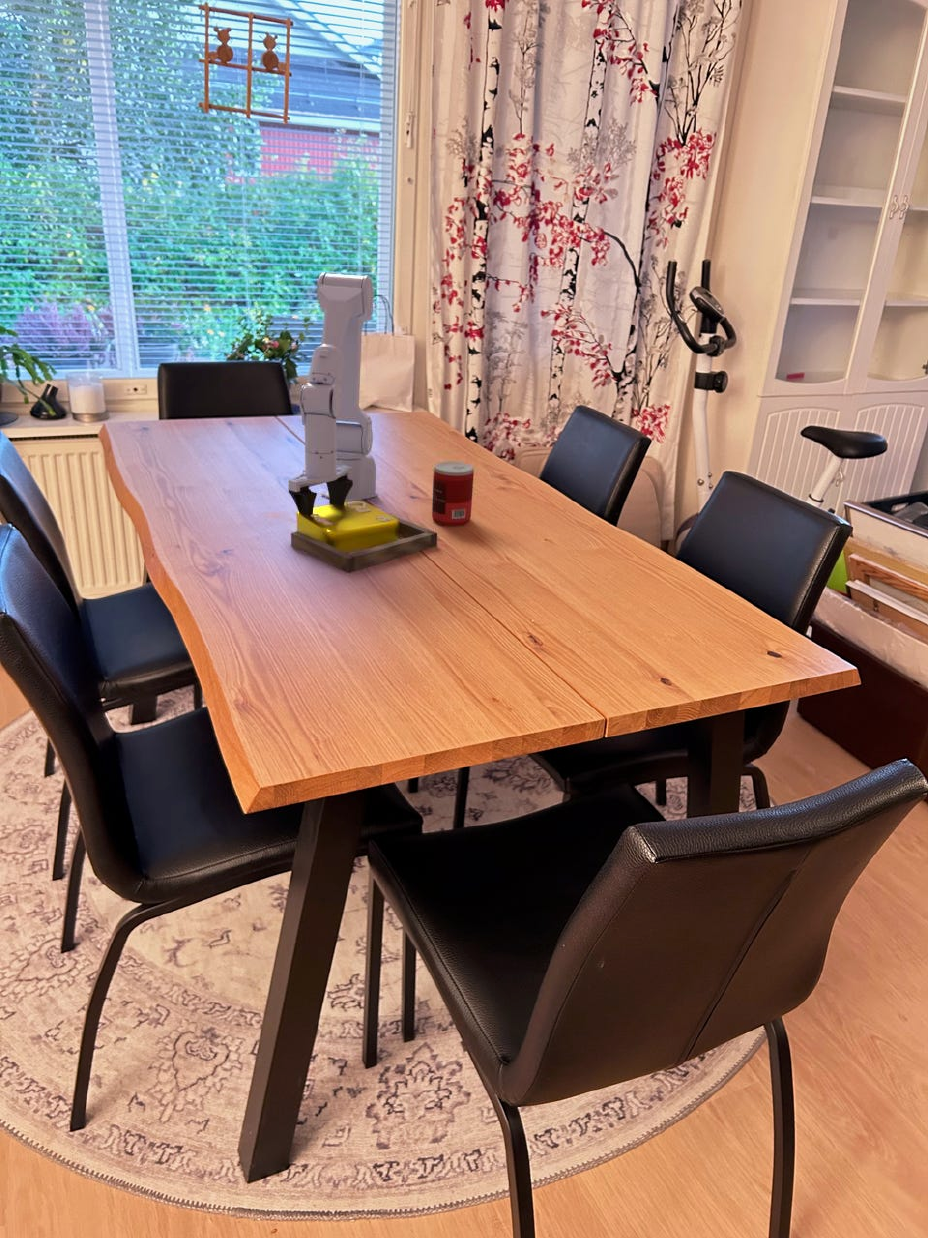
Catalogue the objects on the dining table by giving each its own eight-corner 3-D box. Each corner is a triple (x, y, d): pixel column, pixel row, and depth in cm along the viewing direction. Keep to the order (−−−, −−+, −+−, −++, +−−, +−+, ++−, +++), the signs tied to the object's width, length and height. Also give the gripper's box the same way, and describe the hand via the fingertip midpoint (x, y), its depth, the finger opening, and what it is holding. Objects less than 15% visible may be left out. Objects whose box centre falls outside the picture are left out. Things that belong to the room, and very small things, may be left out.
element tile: (292, 531, 169) (292, 507, 167) (361, 519, 177) (361, 496, 175) (332, 557, 158) (331, 531, 156) (403, 543, 167) (403, 518, 165)
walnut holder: (379, 522, 175) (379, 510, 174) (436, 545, 165) (437, 532, 164) (291, 546, 161) (290, 532, 160) (348, 572, 151) (348, 558, 150)
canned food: (476, 518, 181) (480, 465, 176) (460, 529, 174) (463, 474, 169) (442, 511, 183) (445, 458, 179) (425, 522, 177) (427, 467, 172)
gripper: (333, 439, 172) (333, 507, 178) (276, 452, 161) (278, 523, 167) (360, 446, 168) (359, 515, 174) (303, 460, 157) (305, 533, 163)
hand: (321, 520), depth 170 cm, fingers open, 7 cm apart
